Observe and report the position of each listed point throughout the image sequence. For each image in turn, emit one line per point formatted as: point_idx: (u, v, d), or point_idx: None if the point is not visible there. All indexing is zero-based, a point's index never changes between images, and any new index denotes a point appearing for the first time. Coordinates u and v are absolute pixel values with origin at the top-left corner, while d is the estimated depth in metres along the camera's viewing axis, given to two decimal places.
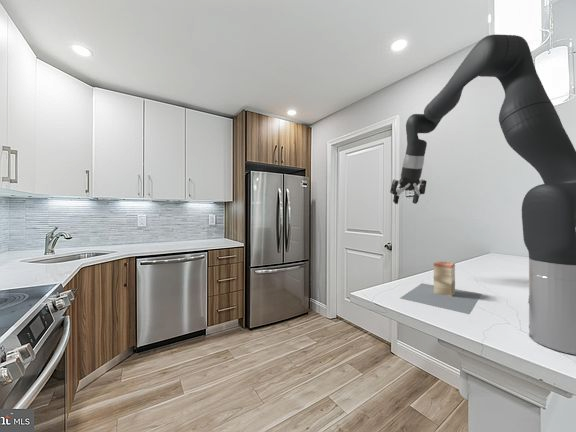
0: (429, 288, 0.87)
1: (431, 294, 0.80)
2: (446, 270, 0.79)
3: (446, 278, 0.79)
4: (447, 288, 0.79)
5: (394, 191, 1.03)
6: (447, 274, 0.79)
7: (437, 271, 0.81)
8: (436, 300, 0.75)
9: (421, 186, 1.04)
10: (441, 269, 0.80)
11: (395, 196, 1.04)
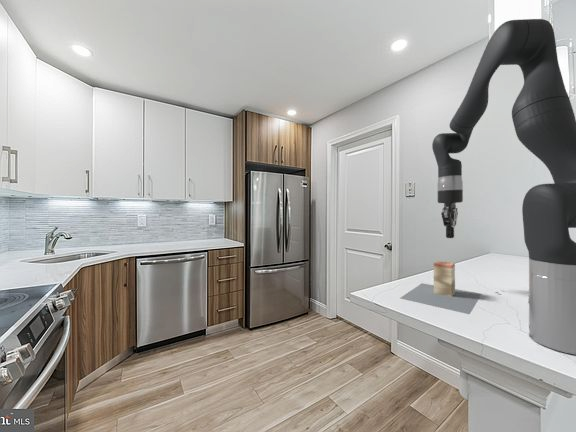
0: (429, 288, 0.87)
1: (431, 294, 0.80)
2: (446, 270, 0.79)
3: (446, 278, 0.79)
4: (447, 288, 0.79)
5: (452, 222, 0.85)
6: (447, 274, 0.79)
7: (437, 271, 0.81)
8: (436, 300, 0.75)
9: None
10: (441, 269, 0.80)
11: (451, 228, 0.86)
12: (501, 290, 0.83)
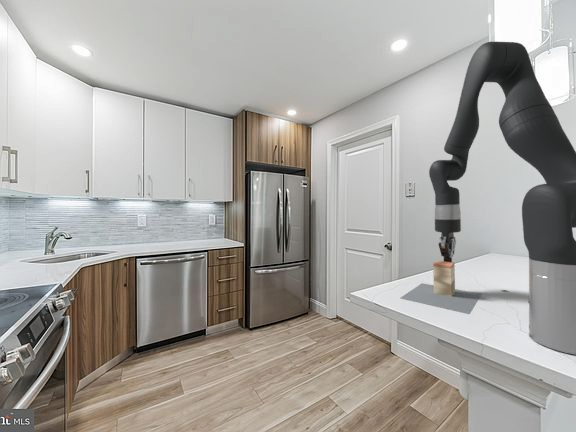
0: (429, 288, 0.87)
1: (431, 294, 0.80)
2: (446, 270, 0.79)
3: (446, 278, 0.79)
4: (447, 288, 0.79)
5: (449, 252, 0.82)
6: (447, 274, 0.79)
7: (437, 271, 0.81)
8: (436, 300, 0.75)
9: None
10: (441, 269, 0.80)
11: (448, 259, 0.83)
12: (501, 290, 0.83)
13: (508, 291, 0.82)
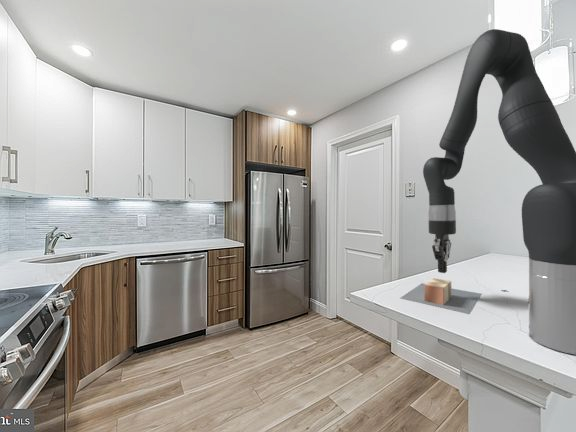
0: None
1: None
2: None
3: None
4: None
5: (444, 256, 0.77)
6: None
7: None
8: None
9: None
10: None
11: (443, 262, 0.78)
12: (501, 290, 0.83)
13: (508, 291, 0.82)
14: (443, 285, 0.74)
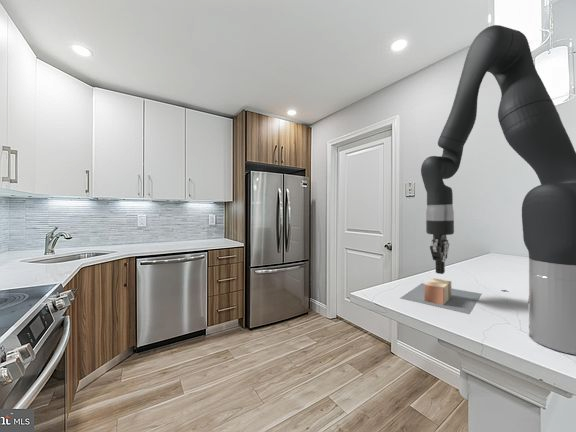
0: None
1: None
2: None
3: None
4: None
5: (442, 256, 0.75)
6: None
7: None
8: None
9: None
10: None
11: (441, 263, 0.77)
12: (501, 290, 0.83)
13: (508, 291, 0.82)
14: (443, 285, 0.74)
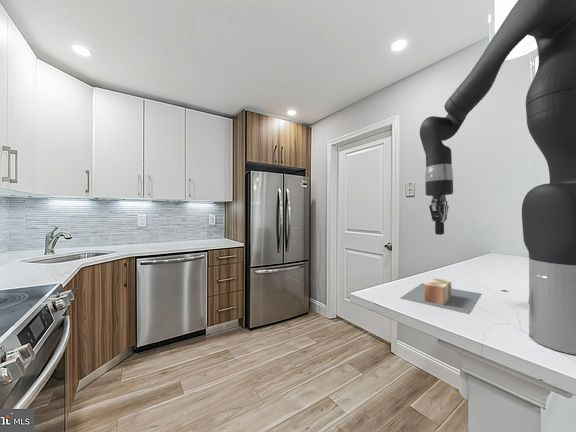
0: None
1: None
2: None
3: None
4: None
5: (441, 216, 0.75)
6: None
7: None
8: None
9: None
10: None
11: (440, 224, 0.76)
12: (501, 290, 0.83)
13: (508, 291, 0.82)
14: (443, 285, 0.74)
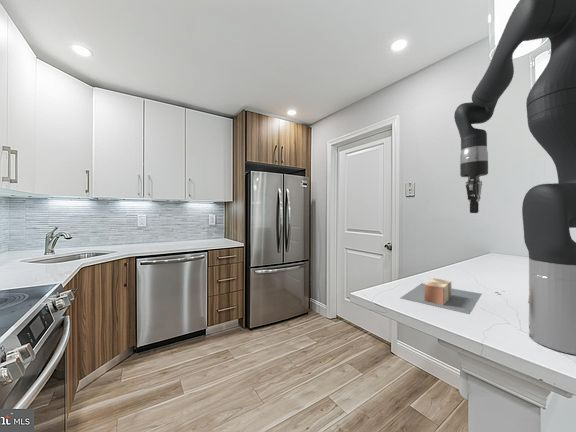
0: None
1: None
2: None
3: None
4: None
5: (477, 195, 0.80)
6: None
7: None
8: None
9: None
10: None
11: (475, 202, 0.81)
12: None
13: None
14: (443, 285, 0.74)
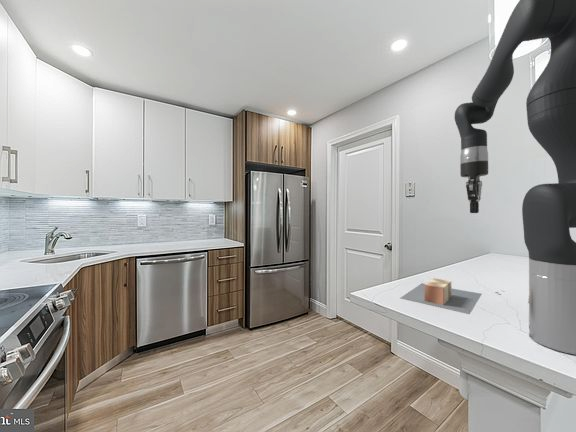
0: None
1: None
2: None
3: None
4: None
5: (477, 195, 0.80)
6: None
7: None
8: None
9: None
10: None
11: (475, 203, 0.81)
12: (501, 290, 0.83)
13: None
14: (443, 285, 0.74)
